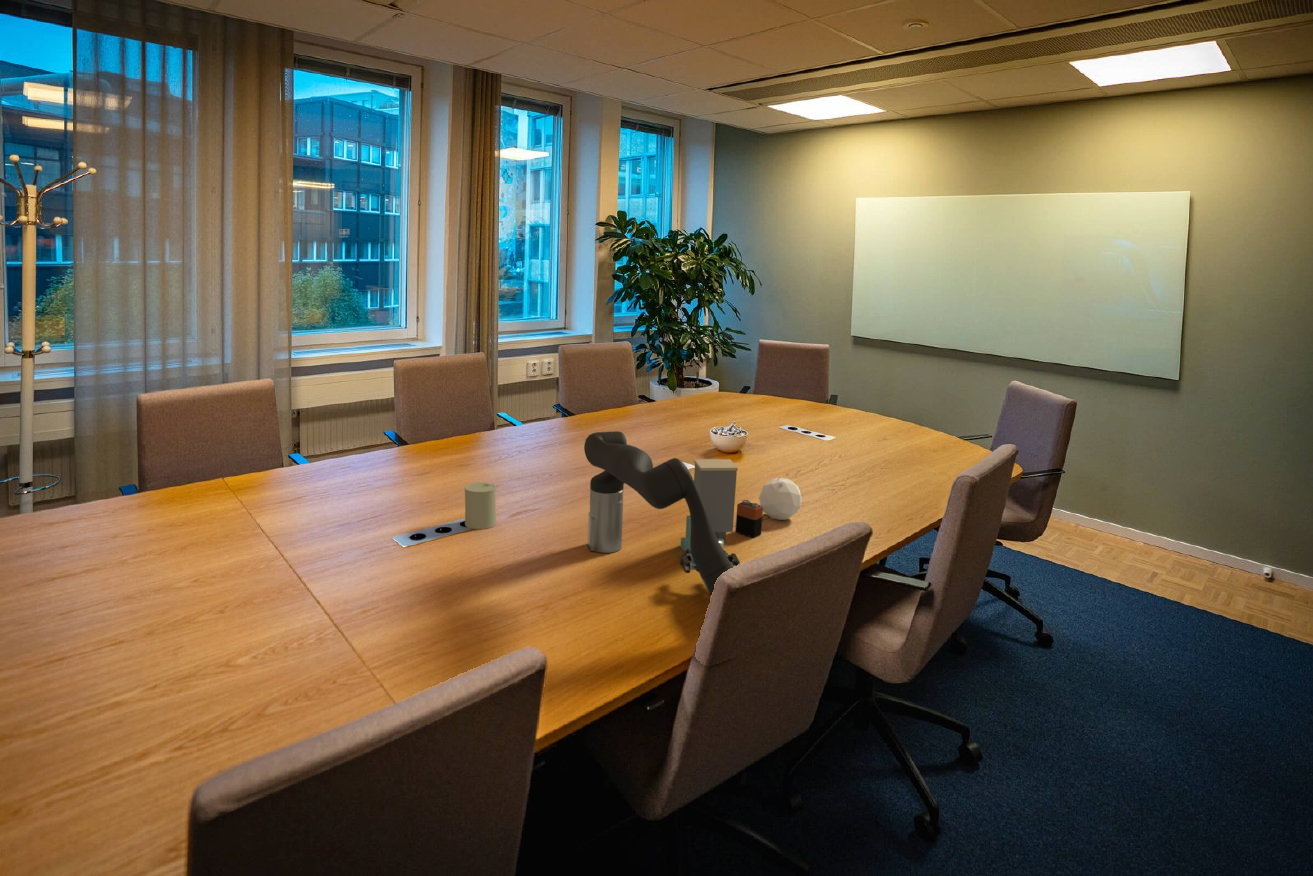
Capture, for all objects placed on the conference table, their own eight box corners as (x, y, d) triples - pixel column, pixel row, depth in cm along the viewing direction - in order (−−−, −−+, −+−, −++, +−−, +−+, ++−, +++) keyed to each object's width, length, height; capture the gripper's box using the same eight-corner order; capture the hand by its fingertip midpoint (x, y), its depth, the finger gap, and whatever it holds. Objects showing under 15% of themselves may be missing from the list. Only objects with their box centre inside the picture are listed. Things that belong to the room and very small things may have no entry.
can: (502, 523, 241) (502, 485, 238) (480, 531, 234) (480, 492, 231) (480, 516, 246) (480, 479, 243) (458, 524, 238) (457, 486, 235)
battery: (743, 528, 245) (745, 497, 243) (761, 534, 241) (764, 503, 238) (734, 532, 242) (736, 500, 239) (753, 538, 238) (755, 506, 235)
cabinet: (696, 553, 224) (700, 467, 218) (689, 542, 232) (694, 459, 226) (732, 552, 226) (737, 467, 220) (724, 541, 234) (730, 459, 228)
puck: (708, 552, 226) (708, 544, 225) (704, 545, 230) (704, 537, 230) (725, 552, 227) (726, 543, 226) (721, 545, 231) (721, 537, 231)
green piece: (687, 562, 218) (689, 520, 215) (678, 546, 229) (680, 506, 226) (701, 562, 218) (704, 520, 215) (692, 545, 230) (694, 505, 227)
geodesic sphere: (807, 512, 245) (805, 470, 250) (762, 510, 245) (761, 468, 250) (799, 526, 258) (798, 486, 263) (756, 524, 258) (756, 484, 263)
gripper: (748, 562, 193) (731, 537, 208) (690, 563, 190) (677, 538, 206) (746, 591, 195) (729, 564, 210) (689, 593, 192) (675, 566, 208)
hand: (703, 551), depth 208 cm, fingers open, 8 cm apart
